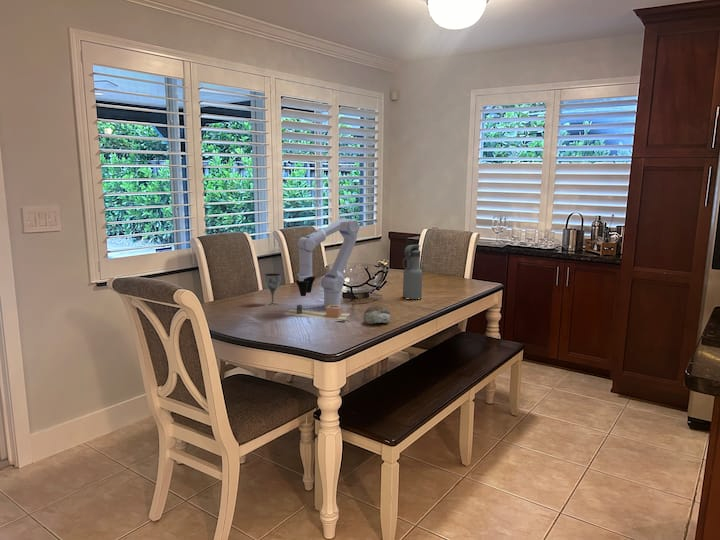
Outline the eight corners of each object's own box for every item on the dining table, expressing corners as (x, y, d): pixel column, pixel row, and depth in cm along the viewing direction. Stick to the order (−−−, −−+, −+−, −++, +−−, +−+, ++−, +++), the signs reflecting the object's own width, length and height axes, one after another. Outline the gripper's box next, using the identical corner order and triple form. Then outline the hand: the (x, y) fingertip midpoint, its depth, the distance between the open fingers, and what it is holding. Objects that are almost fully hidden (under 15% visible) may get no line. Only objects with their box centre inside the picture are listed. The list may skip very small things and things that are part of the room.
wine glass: (261, 304, 262) (260, 274, 259) (274, 302, 267) (273, 272, 265) (271, 307, 256) (271, 276, 254) (284, 305, 262) (284, 274, 260)
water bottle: (411, 301, 275) (413, 246, 271) (398, 298, 283) (399, 244, 278) (425, 298, 282) (427, 245, 277) (411, 295, 289) (413, 243, 285)
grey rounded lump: (379, 321, 223) (372, 299, 227) (362, 330, 228) (355, 308, 231) (398, 321, 235) (391, 300, 238) (382, 329, 240) (375, 308, 243)
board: (290, 311, 249) (290, 301, 248) (350, 316, 243) (350, 305, 242) (282, 318, 237) (282, 307, 236) (344, 322, 232) (344, 311, 231)
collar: (329, 313, 242) (329, 305, 241) (341, 314, 241) (341, 305, 240) (326, 316, 236) (326, 307, 236) (338, 317, 235) (338, 308, 234)
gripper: (302, 261, 248) (302, 290, 250) (292, 266, 234) (292, 297, 236) (316, 262, 247) (316, 291, 249) (307, 267, 233) (307, 298, 235)
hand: (305, 294), depth 243 cm, fingers open, 7 cm apart
